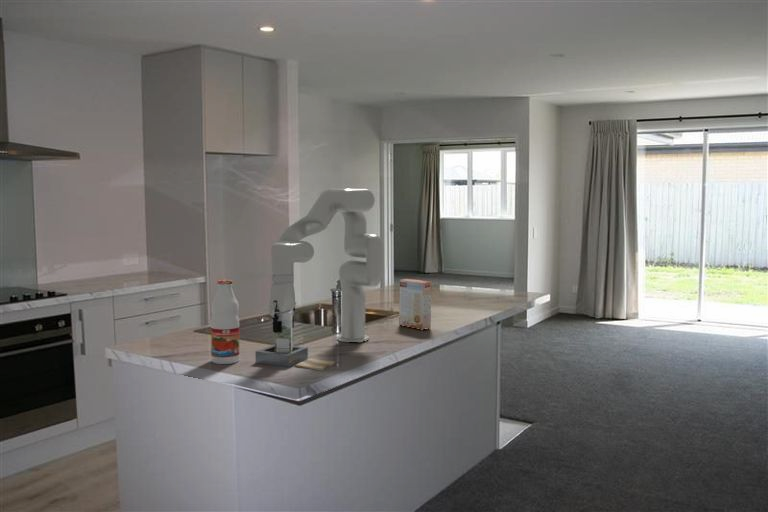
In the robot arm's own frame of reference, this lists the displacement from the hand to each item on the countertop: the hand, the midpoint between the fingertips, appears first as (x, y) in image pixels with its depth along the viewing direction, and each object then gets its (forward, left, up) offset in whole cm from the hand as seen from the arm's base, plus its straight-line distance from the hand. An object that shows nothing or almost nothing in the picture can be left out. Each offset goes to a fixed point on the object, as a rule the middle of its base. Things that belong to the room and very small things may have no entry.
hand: (283, 329), depth 227 cm
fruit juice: (+10, -17, -11) cm, 23 cm away
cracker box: (-74, +22, -11) cm, 78 cm away
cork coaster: (+1, +13, -11) cm, 17 cm away
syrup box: (0, 0, -8) cm, 8 cm away
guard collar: (+1, 0, -11) cm, 11 cm away
